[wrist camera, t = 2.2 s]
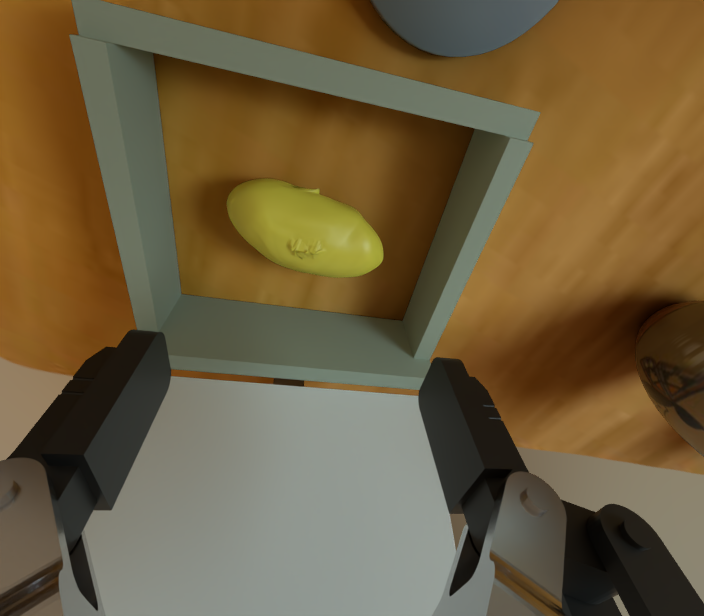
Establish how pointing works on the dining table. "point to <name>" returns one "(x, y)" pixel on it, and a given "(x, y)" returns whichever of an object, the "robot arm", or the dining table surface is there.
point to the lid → (276, 507)
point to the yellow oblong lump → (304, 229)
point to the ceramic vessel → (675, 367)
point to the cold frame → (261, 319)
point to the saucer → (460, 23)
